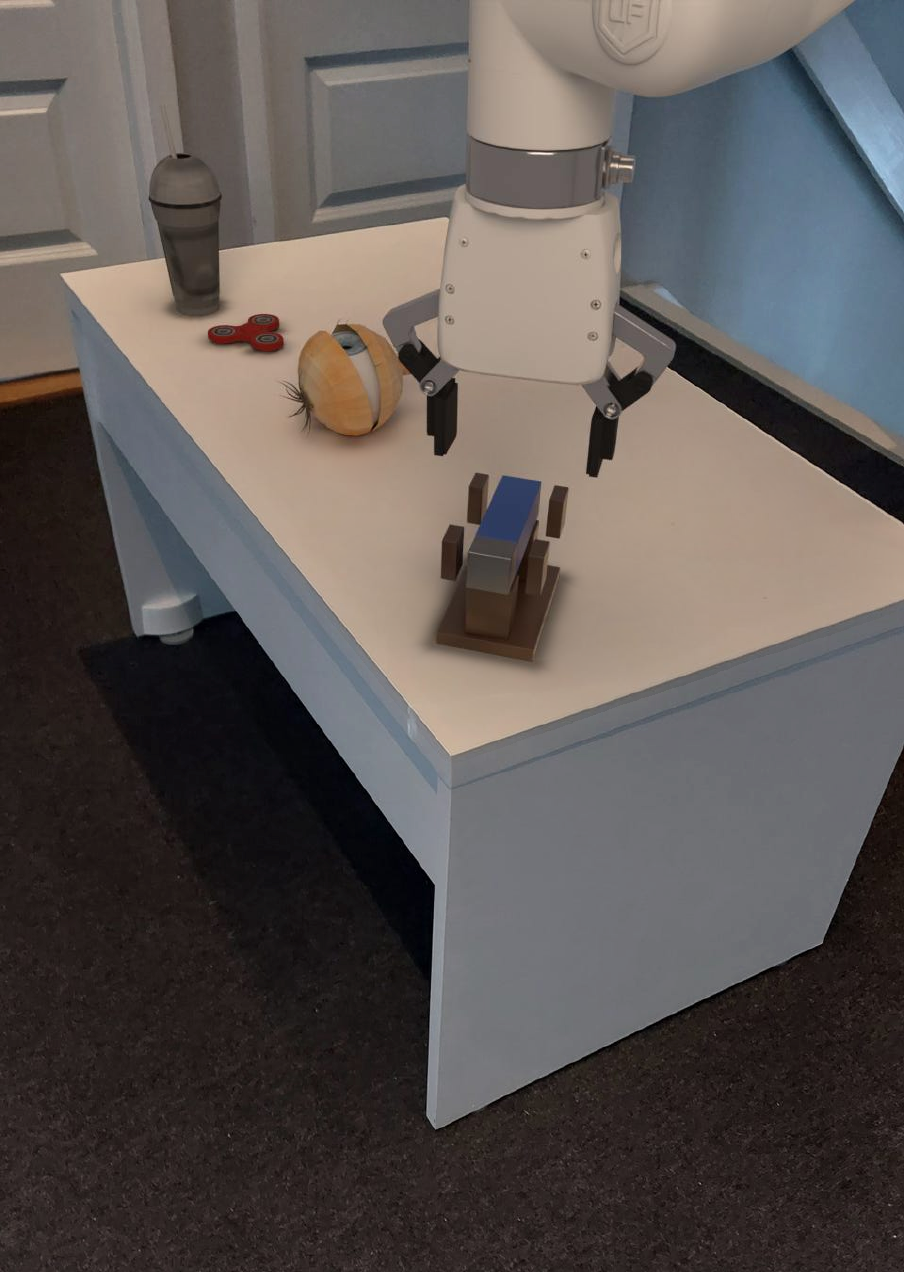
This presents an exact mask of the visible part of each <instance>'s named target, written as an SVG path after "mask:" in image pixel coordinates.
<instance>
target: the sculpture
mask: <svg viewBox="0 0 904 1272" xmlns="http://www.w3.org/2000/svg"><path fill="white" fill-rule="evenodd" d="M341 320H342V318H340V319H339V320H338V321H337V323H336V325H335V327H334V329H333V331H332V332H331V333H329V332H328V331H327V330H318V331H317V332H315V334H313V335H312V336H311V337H309V338H308V339H307V341H306V342H305V344H304V345H303V347H302V349H301V351H300V354H299V358H298V366H297V375H298V376H297V379H298V388H297V387H296V386H295V385H293V384H292V383H290V382H289V381H285V380H283V382H284V383H283V382H282V381H279V380H276V379H275V381H276V382H278V383H280V384H281V385H283V386H285V389H286V390H285V391H286V392H287V394H288V395H289V396H290V397H287V396H284V395H280V394H279V396H280V397H283V398H285V399H288V400H291V401H294V402H296V403H300V404H302V405H301V406H300V407H299V409H298V410H297V411H296V412H295V413H293V414H292V415H289V418H292V417H295V416H298V415H300V414H302V413H303V412H304V411H305V416H304V418H305V424H304V427H303V428H302V429H301V431H300V432H299V434H301V432H303V433H305V432H306V430H307V428H308V425H309V428H308V433H307V435H306V436H307V437H306V438H308V436H309V434H310V431H311V427H312V426H311V425H312V424H311V423H312V416H311V414H312V415H313V416H314V417H315V418H316V419H317V421H318V422H320V423H321V424H323V426H324V428H325V429H327V428H328V429H329V430H331V431H332V432H333V431H334V433H336V434H340V435H345V436H354V437H355V436H362V435H365V434H368V433H372V432H374V431H376V430H377V429H379V428H381V427H383V426H384V425H385V423H386V422H387V421H388V420H389V419H390V417H391V416H392V414H393V413H394V411H395V410H396V409H397V406H398V404H399V401H400V398H401V396H402V394H403V385H404V376H407V375H408V376H409V375H412V374H411V373H410V372H409V371H408V370H407V369H406V368H405V367H404V366H403V365H402V363H401V362H400V361H399V358H398V354H397V353H396V351H395V350H394V349H393V346H391V344H390V343H389V341H388V340H387V338H386V337H385V336H383V335H380V334H379V333H377V332H375V331H373V330H371V329H370V328H368V327H366V326H364V325H363V324H360V323H348V322H349V321H350V320H351V318H350V319H348V320H347V321H346V322H345V323H341V324H339V322H340V321H341ZM285 383H287V384H288V385H290V386H291V387H292V388H291V387H289V386H288V385H286V384H285ZM287 388H288V389H289V390H290V391H291V392H292V393H293V394H295V395H292V394H291V393H290V392H289V390H288V389H287ZM286 418H288V416H286Z"/></svg>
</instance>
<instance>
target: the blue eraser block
mask: <svg viewBox="0 0 904 1272" xmlns="http://www.w3.org/2000/svg"><path fill="white" fill-rule="evenodd" d="M541 491H542V481H541V480H535V479H528V478H523V477H516V476H510V475H501V478H500V480H499V482H498V483H497V485H496V488H495V490H494V493H493V495H492V497H491V499H490V502H489V503H488V505H487V511H486V513H485V515H484V517H483V519H482V522H481V524H480V525H478V528H477V531H476V532H475V536H474V538H473V540H472V541H471V545H469V546H470V547H469V549H468V551H467V559H466V560H467V563H466V566H467V579H466V587H467V588H472V589H478V590H484V591H489V592H495V593H500V594H506V595H508V594H509V591H510V589H511V586H512V583H513V581H514V578H515V576H516V573H517V570H518V568H519V565H520V563H521V560H522V557H523V555H524V552H525V549H526V547H527V544H528V541H529V539H530V536H531V533H532V531H533V528H534V525H535V523H536V520H538V517H539V511H540V501H541V493H542V492H541Z"/></svg>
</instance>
